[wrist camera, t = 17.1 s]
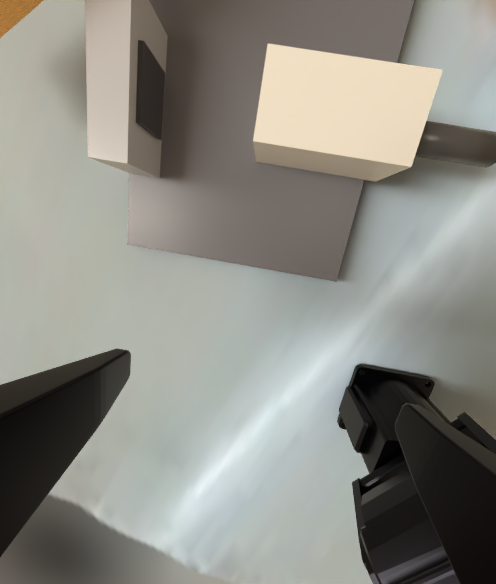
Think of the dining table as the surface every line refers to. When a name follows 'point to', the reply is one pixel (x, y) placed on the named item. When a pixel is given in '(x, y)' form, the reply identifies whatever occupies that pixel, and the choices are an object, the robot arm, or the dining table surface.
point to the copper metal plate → (14, 12)
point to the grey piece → (222, 123)
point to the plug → (355, 116)
